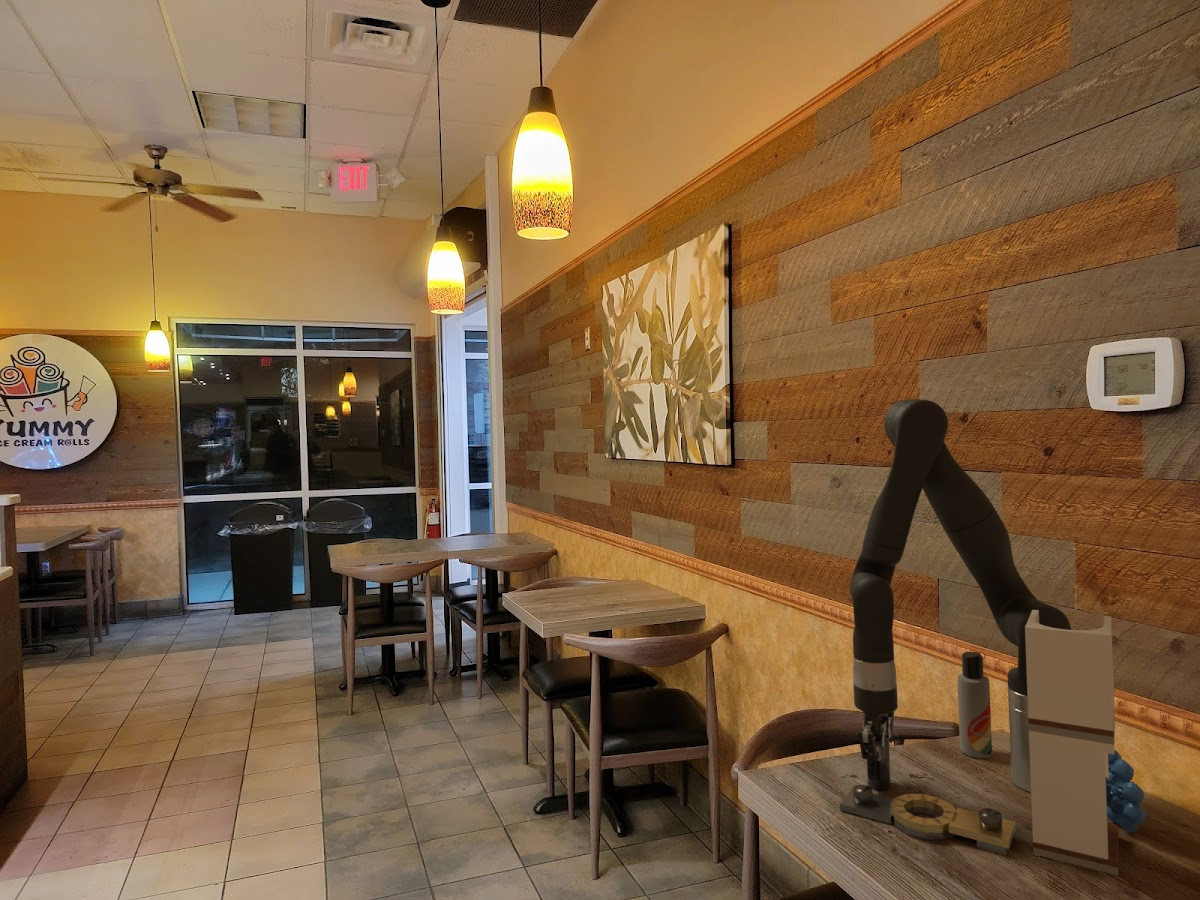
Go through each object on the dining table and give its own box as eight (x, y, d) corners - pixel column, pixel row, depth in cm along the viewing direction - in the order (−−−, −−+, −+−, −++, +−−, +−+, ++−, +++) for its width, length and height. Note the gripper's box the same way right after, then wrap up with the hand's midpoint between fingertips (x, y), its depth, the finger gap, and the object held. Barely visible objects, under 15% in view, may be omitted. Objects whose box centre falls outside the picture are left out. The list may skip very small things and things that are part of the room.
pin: (871, 778, 140) (869, 731, 139) (893, 784, 137) (891, 735, 137) (864, 787, 137) (862, 739, 136) (887, 793, 134) (885, 743, 134)
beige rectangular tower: (1118, 875, 107) (1110, 635, 106) (1033, 854, 113) (1024, 627, 112) (1118, 837, 117) (1111, 616, 116) (1040, 820, 123) (1032, 609, 122)
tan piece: (855, 790, 136) (854, 766, 135) (1017, 831, 120) (1016, 804, 120) (836, 815, 128) (835, 790, 127) (1007, 862, 112) (1006, 833, 112)
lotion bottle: (996, 759, 145) (992, 657, 144) (964, 758, 146) (960, 657, 145) (987, 746, 150) (983, 648, 150) (956, 746, 151) (952, 648, 151)
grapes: (1068, 806, 127) (1066, 736, 126) (1109, 804, 126) (1107, 735, 126) (1113, 844, 115) (1111, 768, 115) (1158, 843, 115) (1156, 766, 114)
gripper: (884, 697, 128) (888, 795, 129) (906, 673, 140) (910, 763, 140) (841, 690, 133) (845, 785, 134) (866, 667, 144) (870, 754, 145)
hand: (878, 773), depth 137 cm, fingers closed on pin, 4 cm apart
